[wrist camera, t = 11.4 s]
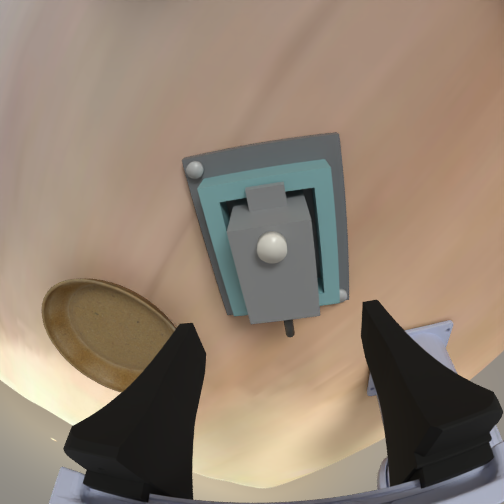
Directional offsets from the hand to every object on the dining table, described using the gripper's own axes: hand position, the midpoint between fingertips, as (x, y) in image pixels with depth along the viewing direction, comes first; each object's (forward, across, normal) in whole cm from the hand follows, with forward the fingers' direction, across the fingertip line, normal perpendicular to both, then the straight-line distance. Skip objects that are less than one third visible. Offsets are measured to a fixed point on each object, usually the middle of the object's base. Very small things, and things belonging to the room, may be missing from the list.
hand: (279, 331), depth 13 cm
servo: (+8, 0, +1) cm, 8 cm away
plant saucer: (+9, +16, +8) cm, 20 cm away
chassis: (+9, 0, 0) cm, 9 cm away
